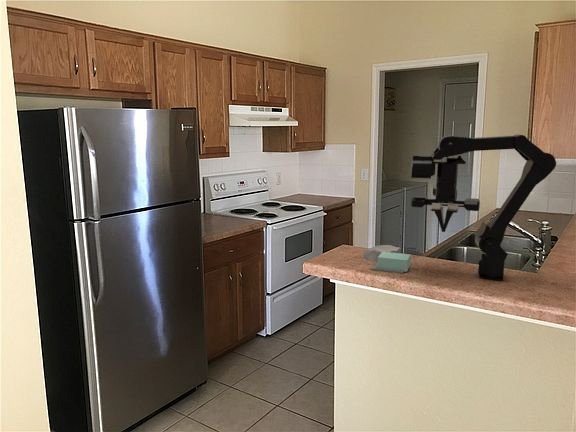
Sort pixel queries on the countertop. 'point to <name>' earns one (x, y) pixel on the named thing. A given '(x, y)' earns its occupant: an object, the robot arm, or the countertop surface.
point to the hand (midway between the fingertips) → (443, 231)
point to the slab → (394, 261)
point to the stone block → (380, 251)
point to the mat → (384, 269)
